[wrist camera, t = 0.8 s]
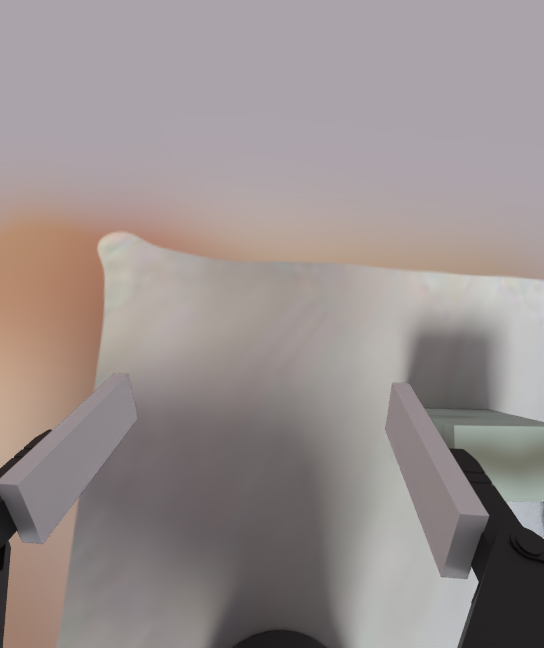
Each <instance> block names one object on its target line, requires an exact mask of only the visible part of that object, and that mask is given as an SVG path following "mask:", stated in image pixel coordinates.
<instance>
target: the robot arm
mask: <svg viewBox="0 0 544 648" xmlns="http://www.w3.org/2000/svg"><path fill="white" fill-rule="evenodd" d="M137 419H138V417H137V412H136V407H135V403H134V398H133V393H132V389H131V384H130V379H129V375H128V374H113V375H112V376H111V377H110V378H109V379H108V380H107V381H106V382H104V383H103V384H102V385H101V386H100V387H99V388H98V389H97V390H96V391H95V392H94V393H92V394H91V395H90V396H89V397H88V398H87V399H86V400H85V401H84V402H83V403H82V404H81V405H79V406H78V407H77V408H76V409H75V410H74V411H73V412H72V413H71V414H70V415H69V416H67V417H66V418H65V419H64V420H63V421H62V422H61V423H60V424H59V425H58V426H57V427H56V428H54V429H53V430H47V431H46V432H44V433H42V434H41V435H39V436H37V437H36V438H34V439H33V440H32V441H31V442H30V443H29V444H28V445H26V446H25V447H24V449H23V450H21V451H20V452H18V453H17V454H16V455H15V456H14V458H12V459H11V460H9V461H8V462H7V463H6V464H5V465H4V466H3V467H1V468H0V648H3V636H4V625H5V612H6V601H7V588H8V577H9V565H10V551H11V547H10V543H9V541H8V540H9V539H10V538H11V537H12V536H13V534H14V533H15V532H16V531H17V532H18V534H19V536H20V538H21V540H22V542H25V543H37V544H43V543H44V542H45V541H46V539H47V538H48V537H49V535H50V534H51V533H52V531H53V530H54V528H55V527H56V526H57V525H58V523H59V522H60V521H61V519H62V518H63V517H64V515H65V514H66V513H67V511H68V510H69V509H70V508H71V506H72V505H73V504H74V502H75V501H76V499H77V498H78V497H79V496H80V494H81V493H82V492H83V490H84V489H85V488H86V486H87V485H88V484H89V482H90V481H91V480H92V478H93V477H94V476H95V474H96V473H97V472H98V470H99V469H100V468H101V466H102V465H103V464H104V462H105V461H106V460H107V458H108V457H109V456H110V454H111V453H112V452H113V450H114V449H115V448H116V446H117V445H118V444H119V442H120V441H121V440H122V438H123V437H124V436H125V434H126V433H127V432H128V430H129V429H130V428H131V427H132V425H133V424H134V423H135V421H136V420H137ZM385 430H386V433H387V435H388V438H389V441H390V443H391V446H392V448H393V451H394V454H395V456H396V459H397V462H398V464H399V467H400V470H401V472H402V475H403V478H404V480H405V483H406V486H407V488H408V491H409V493H410V496H411V499H412V501H413V504H414V507H415V509H416V512H417V515H418V517H419V520H420V523H421V525H422V528H423V530H424V533H425V536H426V538H427V541H428V544H429V546H430V549H431V552H432V554H433V557H434V560H435V562H436V565H437V568H438V570H439V573H440V575H441V577H448V578H460V579H467V578H468V575H469V572H470V570H471V567H472V569H473V571H474V573H475V575H476V577H477V579H478V581H479V583H478V586H477V589H476V591H475V594H474V597H473V599H472V602H471V603H472V604H471V607H470V610H469V613H468V617H467V620H466V623H465V626H464V629H463V632H462V635H461V638H460V641H459V644H458V647H457V648H544V539H543V538H542V537H540V536H539V535H537V534H536V533H534V532H533V531H531V530H529V529H527V528H524V527H523V526H522V525H521V523H520V522H519V521H518V519H517V518H516V516H515V515H514V513H513V512H512V510H511V509H510V507H509V506H508V505H507V503H506V502H505V500H504V499H503V497H502V496H501V494H500V493H499V491H498V490H497V489H496V487H495V486H494V485H493V484H492V481H491V480H490V478H489V477H488V476H487V475H486V474H485V471H484V470H483V468H482V467H481V465H480V464H479V462H478V461H477V460H476V459H475V458H474V457H473V456H471V455H470V454H469V453H468V452H467V451H466V450H464V449H454V448H448V447H447V445H446V444H445V442H444V440H443V439H442V437H441V435H440V434H439V432H438V430H437V429H436V427H435V425H434V424H433V422H432V421H431V419H430V417H429V416H428V414H427V412H426V411H425V409H424V407H423V406H422V404H421V402H420V401H419V399H418V397H417V396H416V394H415V392H414V391H413V389H412V388H411V386H410V384H409V383H392V387H391V394H390V401H389V407H388V414H387V421H386V427H385ZM234 648H325V647H324V646H323V645H322V644H320V643H319V642H317V641H316V640H314V639H312V638H310V637H308V636H306V635H303V634H300V633H296V632H290V631H271V632H265V633H261V634H258V635H255V636H253V637H250V638H248V639H246V640H244V641H243V642H241V643H239V644H238V645H236V646H235V647H234Z"/></svg>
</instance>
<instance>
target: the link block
mask: <svg viewBox="0 0 544 648" xmlns="http://www.w3.org/2000/svg"><path fill="white" fill-rule="evenodd" d="M424 409H425V411H426V412H427V414H428V416H429V417H430V419H431V421H432V422H433V424H434V425H435V427H436V429H437V430H438V432H439V434H440V435H441V437H442V439H443V440H444V442H445V444H446V445H447V447H448V448H454V449H464V450H466V451H467V452H468V453H469V454H470V455H471V456H473V457H474V458H475V459H476V460H477V461H478V462H479V464H480V465H481V467H482V468H483V470H484V471H485V474H486V475H487V476H488V477H489V478H490V480H491V481H492V484H493V485H494V486H495V487H496V489H497V490H498V491H499V493H500V494H501V496H502V497H503V499H504V500H505V502H524V501H544V422H541V421H536V420H532V419H528V418H523V417H519V416H515V415H510V414H506V413H502V412H497V411H493V410H476V409H428V408H424Z"/></svg>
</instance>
